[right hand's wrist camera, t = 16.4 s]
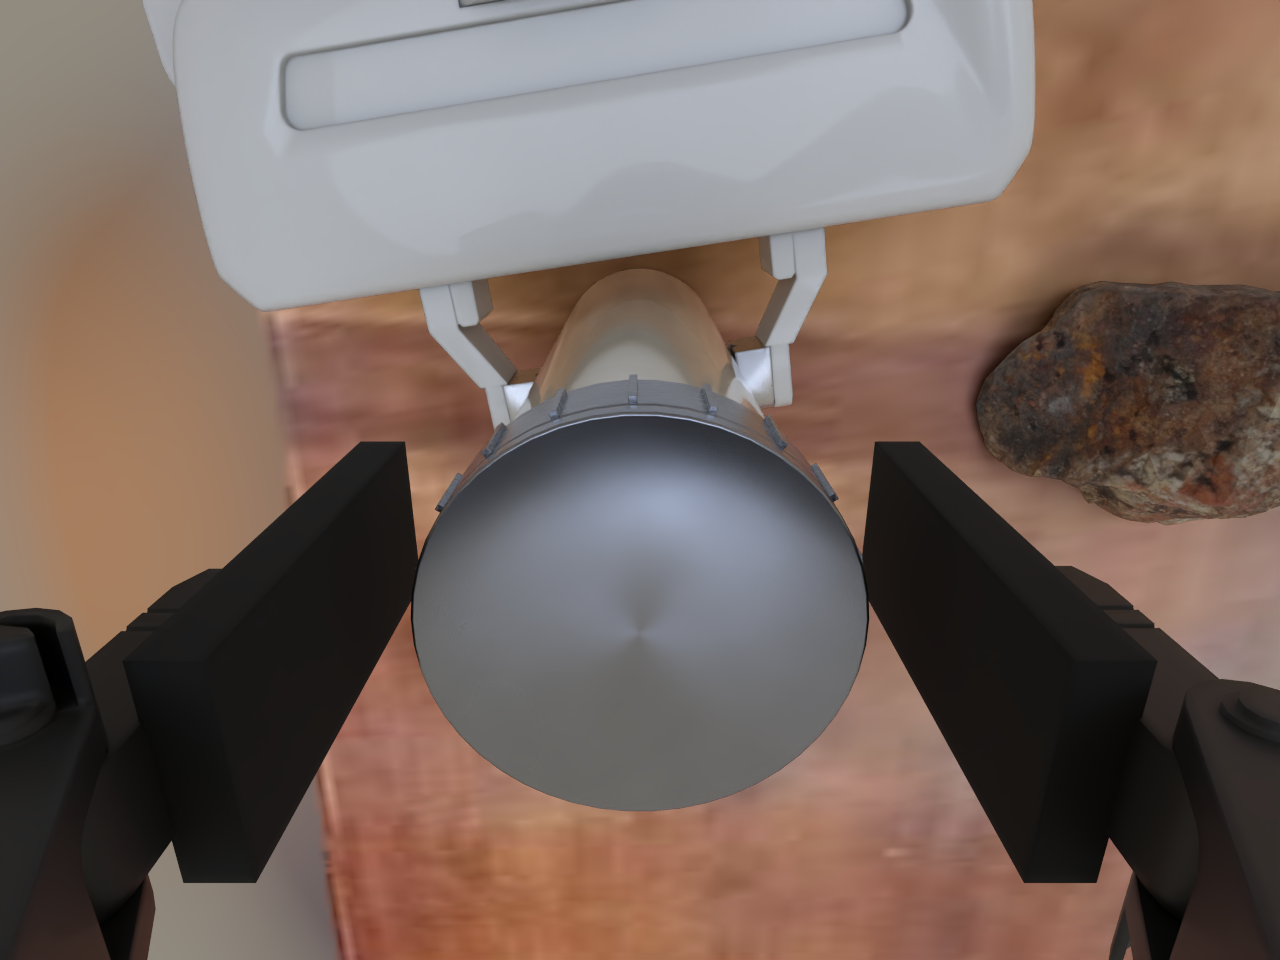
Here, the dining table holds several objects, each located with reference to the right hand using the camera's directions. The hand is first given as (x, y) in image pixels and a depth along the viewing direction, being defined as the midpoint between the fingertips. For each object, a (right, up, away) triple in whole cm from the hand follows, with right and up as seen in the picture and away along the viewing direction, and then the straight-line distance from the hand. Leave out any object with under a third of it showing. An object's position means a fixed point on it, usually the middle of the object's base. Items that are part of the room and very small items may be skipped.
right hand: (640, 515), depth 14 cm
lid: (0, -1, -3) cm, 3 cm away
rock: (+20, +4, +15) cm, 25 cm away
